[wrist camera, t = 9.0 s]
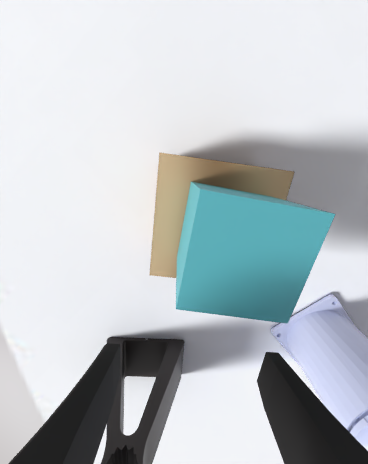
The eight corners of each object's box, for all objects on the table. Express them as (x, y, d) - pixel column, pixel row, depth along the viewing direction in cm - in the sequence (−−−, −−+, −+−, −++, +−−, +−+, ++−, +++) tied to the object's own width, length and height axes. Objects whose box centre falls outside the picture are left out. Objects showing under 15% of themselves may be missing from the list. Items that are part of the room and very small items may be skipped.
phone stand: (184, 339, 22) (189, 514, 11) (180, 374, 24) (181, 554, 13) (108, 336, 22) (32, 514, 11) (110, 372, 24) (48, 556, 13)
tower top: (271, 170, 14) (294, 171, 11) (245, 265, 16) (259, 286, 14) (163, 156, 13) (159, 152, 11) (154, 256, 16) (149, 275, 13)
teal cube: (270, 196, 12) (335, 213, 7) (247, 267, 13) (287, 323, 8) (190, 181, 11) (200, 189, 6) (176, 257, 13) (175, 309, 8)
